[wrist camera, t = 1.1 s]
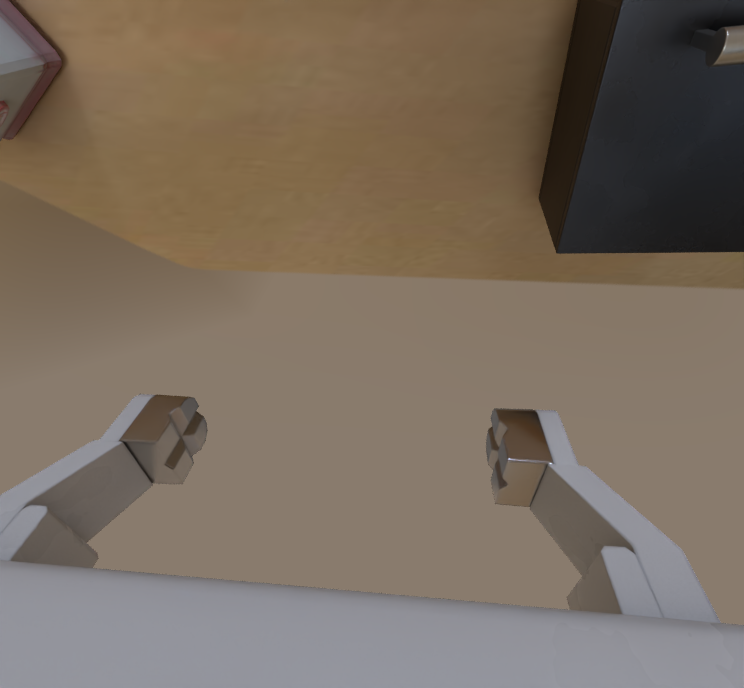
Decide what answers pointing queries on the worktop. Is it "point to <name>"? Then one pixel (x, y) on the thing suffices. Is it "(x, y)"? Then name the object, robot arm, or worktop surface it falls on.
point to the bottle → (21, 68)
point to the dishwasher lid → (663, 134)
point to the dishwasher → (574, 105)
